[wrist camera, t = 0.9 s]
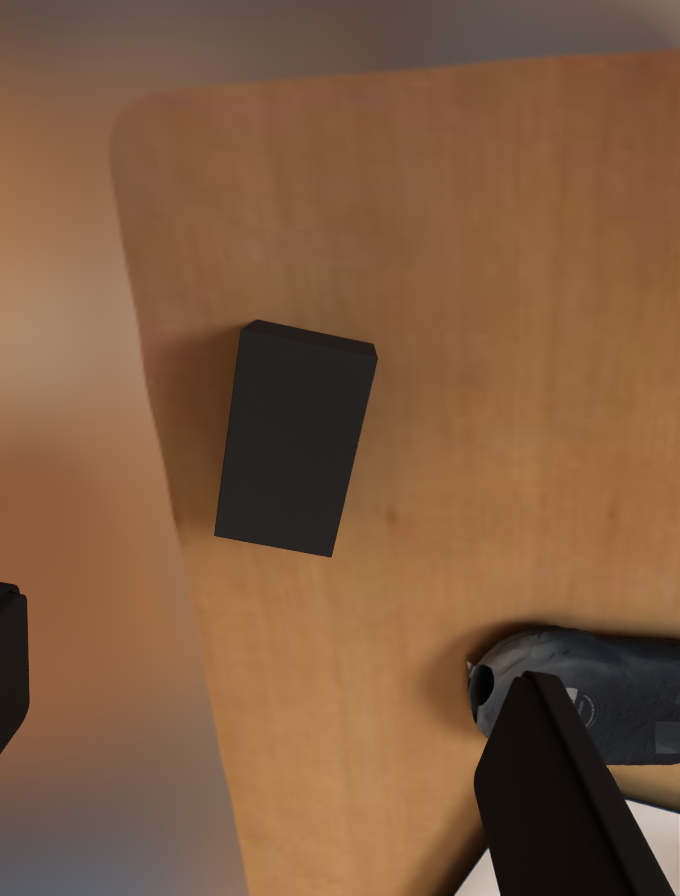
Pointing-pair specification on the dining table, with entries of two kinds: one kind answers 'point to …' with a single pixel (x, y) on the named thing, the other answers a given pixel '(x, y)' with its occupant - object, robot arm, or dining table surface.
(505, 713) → the robot arm
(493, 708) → the electronic device
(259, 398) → the black rectangular block
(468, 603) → the dining table surface
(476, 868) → the plate
